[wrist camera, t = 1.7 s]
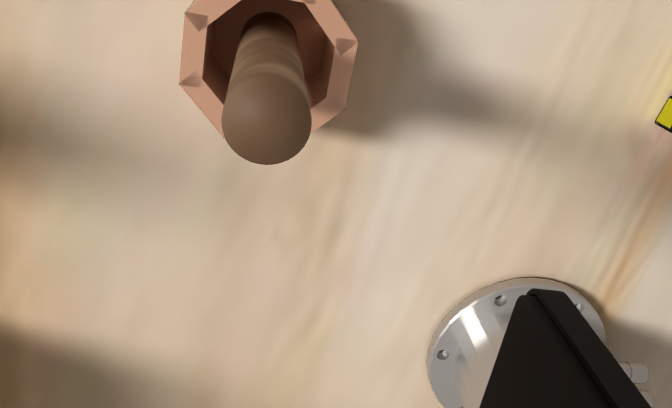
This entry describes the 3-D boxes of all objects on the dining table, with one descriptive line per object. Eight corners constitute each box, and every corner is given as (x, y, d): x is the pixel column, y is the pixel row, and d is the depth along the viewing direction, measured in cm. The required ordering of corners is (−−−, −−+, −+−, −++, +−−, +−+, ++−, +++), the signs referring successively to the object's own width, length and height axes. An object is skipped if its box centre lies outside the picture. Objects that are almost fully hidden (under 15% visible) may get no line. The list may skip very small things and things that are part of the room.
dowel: (301, 16, 33) (318, 86, 21) (292, 72, 35) (304, 170, 22) (244, 7, 33) (226, 72, 20) (237, 63, 34) (217, 158, 22)
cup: (353, -25, 34) (368, -11, 28) (327, 117, 37) (337, 154, 31) (202, -53, 32) (188, -43, 27) (189, 96, 36) (174, 131, 30)
